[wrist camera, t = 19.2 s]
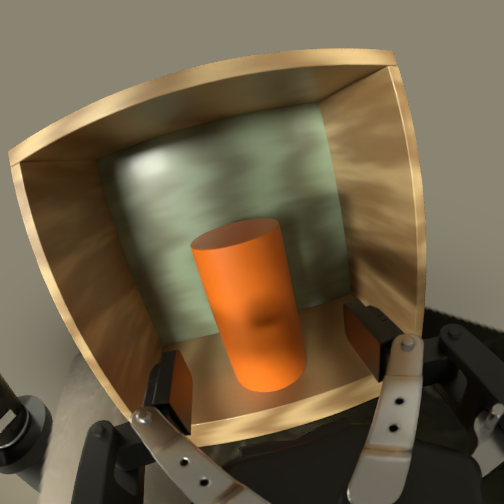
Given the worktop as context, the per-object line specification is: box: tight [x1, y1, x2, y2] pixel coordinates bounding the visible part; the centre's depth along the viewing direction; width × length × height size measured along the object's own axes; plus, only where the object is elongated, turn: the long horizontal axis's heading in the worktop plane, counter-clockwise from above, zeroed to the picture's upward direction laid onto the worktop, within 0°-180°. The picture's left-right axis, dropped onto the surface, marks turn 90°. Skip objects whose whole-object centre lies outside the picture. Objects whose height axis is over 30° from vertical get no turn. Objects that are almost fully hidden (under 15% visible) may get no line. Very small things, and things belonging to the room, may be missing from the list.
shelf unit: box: [8, 49, 426, 447], centre depth 20 cm, size 22×12×23 cm, turn 98°
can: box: [190, 218, 306, 392], centre depth 19 cm, size 6×6×11 cm
